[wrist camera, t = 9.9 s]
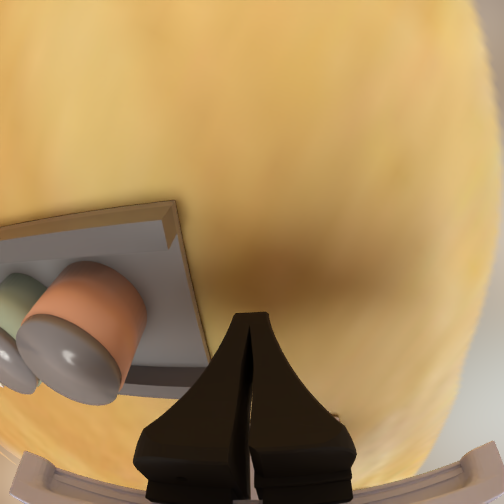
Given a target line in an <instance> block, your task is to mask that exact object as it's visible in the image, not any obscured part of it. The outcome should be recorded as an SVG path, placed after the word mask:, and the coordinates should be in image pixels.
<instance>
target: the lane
mask: <svg viewBox="0 0 504 504" xmlns="http://www.w3.org/2000/svg"><path fill="white" fill-rule="evenodd" d="M79 261H92V262H97V263H100V264H103V265H106V266H108V267H110V268H112V269H114V270H115V271H117V272H118V273H120V274H121V275H122V276H124V277H125V278H126V279H127V280H128V281H129V282H130V283H131V284H132V285H133V286H134V287H135V288H136V290H137V291H138V293H139V294H140V296H141V298H142V299H143V302H144V304H145V307H146V311H147V323H146V327H145V329H144V332H143V334H142V337H141V339H140V342H139V345H138V347H137V350H136V352H135V355H134V358H133V360H132V363H131V366H130V368H129V371H128V374H127V377H126V379H125V382H124V385H123V387H122V389H121V390H120V391H119V392H118V394H120V395H130V396H140V397H152V398H167V399H180V398H181V397H182V396H183V395H184V394H185V393H186V392H187V391H188V390H189V389H190V388H191V386H192V385H193V384H194V383H195V382H196V381H197V379H198V378H199V377H200V376H201V374H202V373H203V372H204V370H205V369H206V367H207V366H208V364H209V363H210V361H211V359H210V355H209V352H208V348H207V344H206V340H205V336H204V332H203V328H202V324H201V320H200V316H199V312H198V307H197V303H196V299H195V295H194V290H193V286H192V281H191V277H190V272H189V268H188V263H187V258H186V254H185V249H184V244H183V239H182V234H181V229H180V224H179V219H178V213H177V208H176V202H175V200H172V201H163V202H155V203H147V204H139V205H131V206H123V207H116V208H109V209H102V210H95V211H89V212H82V213H76V214H70V215H63V216H57V217H52V218H46V219H40V220H35V221H29V222H24V223H19V224H14V225H9V226H4V227H0V283H1V282H2V281H3V280H4V279H5V278H6V277H7V276H8V275H10V274H12V273H22V274H26V275H28V276H30V277H33V278H34V279H36V280H38V281H39V282H40V283H42V284H43V285H44V286H45V287H46V288H48V287H49V286H50V285H51V284H52V282H53V281H54V280H55V279H56V278H57V276H58V275H59V274H60V273H61V272H62V271H63V269H64V268H66V267H67V266H68V265H70V264H72V263H75V262H79Z"/></svg>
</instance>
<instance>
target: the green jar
mask: <svg viewBox="0 0 504 504" xmlns="http://www.w3.org/2000/svg"><path fill="white" fill-rule="evenodd" d="M46 290H47V288H46V287H45V286H44V285H43V284H42V283H40V282H39V281H38V280H36V279H34V278H33V277H30V276H28V275H26V274H22V273H12V274H10V275H8V276H7V277H6V278H5V279H4V280H3V281H2V282H1V283H0V382H1V383H2V384H3V385H5V386H7V387H8V388H10V389H12V390H14V391H16V392H19V393H22V394H32V393H33V392H34V391H35V389H36V387H38V386H39V385H40V384H41V382H42V381H41V380H40V379H39V378H38V377H37V376H36V375H35V374H34V373H33V372H32V371H31V370H30V369H29V368H28V366H27V365H26V364H25V362H24V360H23V359H22V357H21V355H20V353H19V351H18V348H17V344H16V334H17V331H18V330H19V328H20V327H21V323H22V320H23V319H24V318H25V316H26V315H27V314H28V312H29V311H30V310H31V308H32V307H33V306H34V305H35V303H36V302H37V301H38V300H39V298H40V297H41V296H42V295H43V293H44V292H45V291H46Z"/></svg>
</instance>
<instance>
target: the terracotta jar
mask: <svg viewBox="0 0 504 504" xmlns="http://www.w3.org/2000/svg"><path fill="white" fill-rule="evenodd" d="M146 323H147V311H146V307H145V304H144V302H143V299H142V298H141V296H140V294H139V293H138V291H137V290H136V288H135V287H134V286H133V285H132V284H131V283H130V282H129V281H128V280H127V279H126V278H125V277H124V276H122V275H121V274H120V273H118V272H117V271H115V270H114V269H112V268H110V267H108V266H106V265H103V264H100V263H97V262H92V261H79V262H75V263H72V264H70V265H68V266H67V267H66V268H64V269H63V271H62V272H61V273H60V274H59V275H58V276H57V278H56V279H55V280H54V281H53V282H52V284H51V285H50V286H49V287H48V288H47V290H46V291H45V292H44V293H43V295H42V296H41V297H40V298H39V300H38V301H37V302H36V303H35V305H34V306H33V307H32V308H31V310H30V311H29V312H28V314H27V315H26V316H25V318H24V319H23V320H22V323H21V327H20V328H19V330H18V331H17V334H16V344H17V348H18V351H19V353H20V355H21V357H22V359H23V360H24V362H25V364H26V365H27V366H28V368H29V369H30V370H31V371H32V372H33V373H34V374H35V375H36V376H37V377H38V378H39V379H40V380H41V381H42V382H43V383H45V384H46V385H47V386H48V387H50V388H51V389H53V390H54V391H56V392H58V393H59V394H61V395H63V396H65V397H67V398H69V399H71V400H74V401H77V402H80V403H83V404H88V405H106V404H109V403H111V402H113V401H114V400H115V399H116V397H117V395H118V392H119V391H120V390H121V389H122V387H123V385H124V382H125V379H126V377H127V374H128V371H129V368H130V366H131V363H132V360H133V358H134V355H135V352H136V350H137V347H138V345H139V342H140V339H141V337H142V334H143V332H144V329H145V327H146Z"/></svg>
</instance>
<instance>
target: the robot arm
mask: <svg viewBox="0 0 504 504" xmlns="http://www.w3.org/2000/svg"><path fill="white" fill-rule="evenodd" d="M252 392H253V394H252ZM251 402H252V409H251ZM250 411H251V422H250ZM356 455H357V453H356V449H355V446H354V443H353V441H352V439H351V436H350V434H349V433H348V431H347V429H346V427H345V426H344V425H343V424H342V423H341V422H340V421H339V418H338V417H334V416H332V415H331V414H330V413H329V412H328V411H327V410H326V409H325V408H324V407H323V406H322V405H321V404H320V403H319V402H318V401H317V400H316V398H315V397H314V396H313V395H312V394H311V393H310V392H309V391H308V389H307V388H306V387H305V386H304V384H303V383H302V382H301V380H300V379H299V378H298V376H297V375H296V373H295V372H294V370H293V369H292V367H291V366H290V364H289V362H288V361H287V359H286V357H285V356H284V354H283V352H282V350H281V348H280V346H279V344H278V342H277V340H276V337H275V335H274V332H273V330H272V327H271V324H270V320H269V314H268V313H267V312H252V313H236V314H235V315H234V316H233V319H232V322H231V324H230V326H229V329H228V331H227V333H226V335H225V337H224V339H223V341H222V343H221V345H220V346H219V348H218V350H217V352H216V353H215V355H214V357H213V358H212V360H211V361H210V363H209V364H208V366H207V367H206V369H205V370H204V372H203V373H202V374H201V376H200V377H199V378H198V379H197V381H196V382H195V383H194V384H193V385H192V386H191V388H190V389H189V390H188V391H187V392H186V393H185V394H184V395H183V396H182V397H181V398H180V399H179V400H178V401H177V402H176V403H175V404H174V405H173V406H172V407H171V408H170V409H169V410H167V411H166V412H165V413H164V414H163V415H162V416H160V417H159V418H158V419H156V420H155V421H154V422H152V423H151V424H150V425H148V426H147V427H146V428H144V429H143V431H142V433H141V435H140V438H139V440H138V443H137V446H136V450H135V454H134V458H133V464H134V466H135V467H136V468H137V470H139V471H140V472H141V473H142V474H143V475H144V476H145V477H146V478H147V479H148V485H147V490H146V491H143V490H138V489H132V488H128V487H123V486H118V485H114V484H110V483H106V482H102V481H98V480H95V479H91V478H88V477H84V476H81V475H77V474H74V473H71V472H68V471H65V470H62V469H59V468H56V467H55V466H54V465H53V464H52V463H51V462H50V461H48V460H46V459H45V458H43V457H40V456H38V455H35V454H33V453H30V452H28V451H24V454H23V456H22V459H21V461H20V464H19V466H18V469H17V472H16V474H15V477H14V480H13V483H12V486H11V489H10V491H9V494H10V495H11V496H13V497H14V498H16V499H18V500H19V501H21V502H23V503H24V504H488V503H490V502H492V501H493V500H495V499H497V498H498V497H500V496H501V495H503V494H504V465H503V462H502V460H501V457H500V454H499V452H498V449H497V447H496V444H495V442H494V441H491V442H489V443H486V444H484V445H482V446H480V447H477V448H475V449H473V450H471V451H469V452H468V453H466V454H465V455H464V456H463V457H462V458H461V460H460V461H457V462H455V463H452V464H450V465H447V466H444V467H441V468H438V469H435V470H432V471H429V472H427V473H423V474H420V475H417V476H413V477H410V478H406V479H403V480H399V481H395V482H391V483H387V484H383V485H379V486H374V487H370V488H365V489H360V490H354V491H352V485H351V479H352V473H351V466H352V464H353V463H354V461H355V459H356Z"/></svg>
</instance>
